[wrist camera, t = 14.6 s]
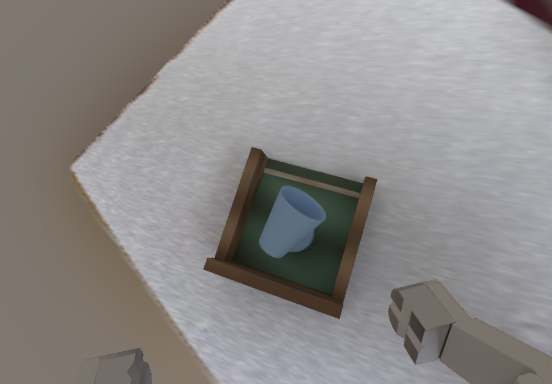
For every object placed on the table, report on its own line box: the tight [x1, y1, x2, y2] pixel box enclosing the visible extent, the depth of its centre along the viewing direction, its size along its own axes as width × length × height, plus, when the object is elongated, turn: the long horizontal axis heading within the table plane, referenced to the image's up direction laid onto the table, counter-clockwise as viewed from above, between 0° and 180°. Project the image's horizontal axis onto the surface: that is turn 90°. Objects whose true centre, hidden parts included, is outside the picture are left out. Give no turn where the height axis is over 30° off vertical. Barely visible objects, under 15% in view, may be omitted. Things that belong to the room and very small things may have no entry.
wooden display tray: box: [204, 147, 377, 319], centre depth 35 cm, size 14×14×6 cm
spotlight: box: [259, 186, 326, 258], centre depth 33 cm, size 5×10×7 cm
